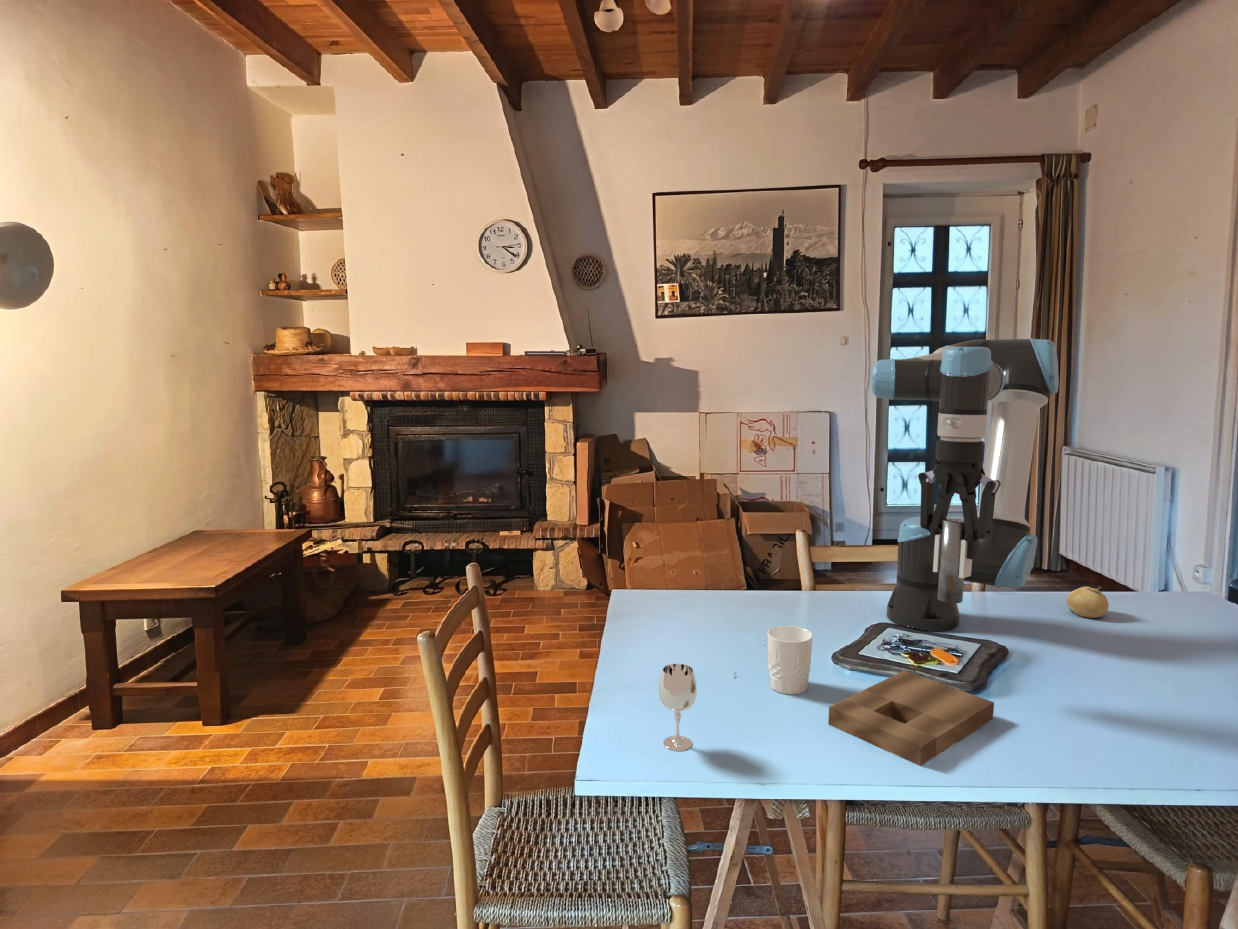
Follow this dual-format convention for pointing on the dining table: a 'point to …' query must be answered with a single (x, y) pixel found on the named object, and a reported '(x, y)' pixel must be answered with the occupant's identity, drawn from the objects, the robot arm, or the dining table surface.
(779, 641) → the white cup
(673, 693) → the wineglass
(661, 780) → the dining table surface
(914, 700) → the socket board
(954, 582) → the peg
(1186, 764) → the dining table surface
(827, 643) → the dining table surface
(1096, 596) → the onion
